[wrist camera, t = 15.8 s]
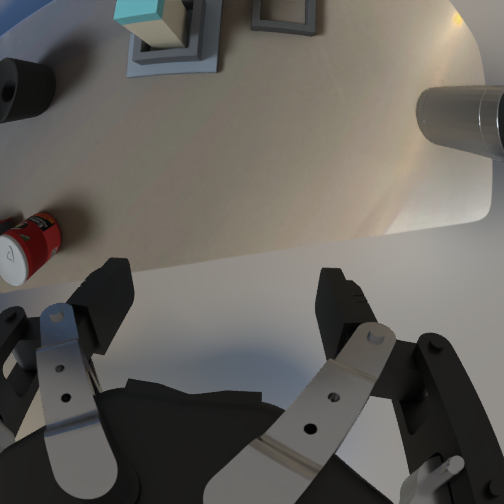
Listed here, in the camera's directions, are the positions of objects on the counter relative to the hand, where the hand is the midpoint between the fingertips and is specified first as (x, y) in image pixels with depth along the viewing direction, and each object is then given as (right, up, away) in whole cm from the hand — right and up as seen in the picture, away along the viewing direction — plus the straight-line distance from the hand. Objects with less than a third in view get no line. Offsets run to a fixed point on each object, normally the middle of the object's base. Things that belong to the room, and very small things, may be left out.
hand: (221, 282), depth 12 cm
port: (-9, +30, +18) cm, 36 cm away
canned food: (-33, +4, +29) cm, 45 cm away
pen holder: (-32, +26, +19) cm, 46 cm away
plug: (-9, +29, +17) cm, 35 cm away
